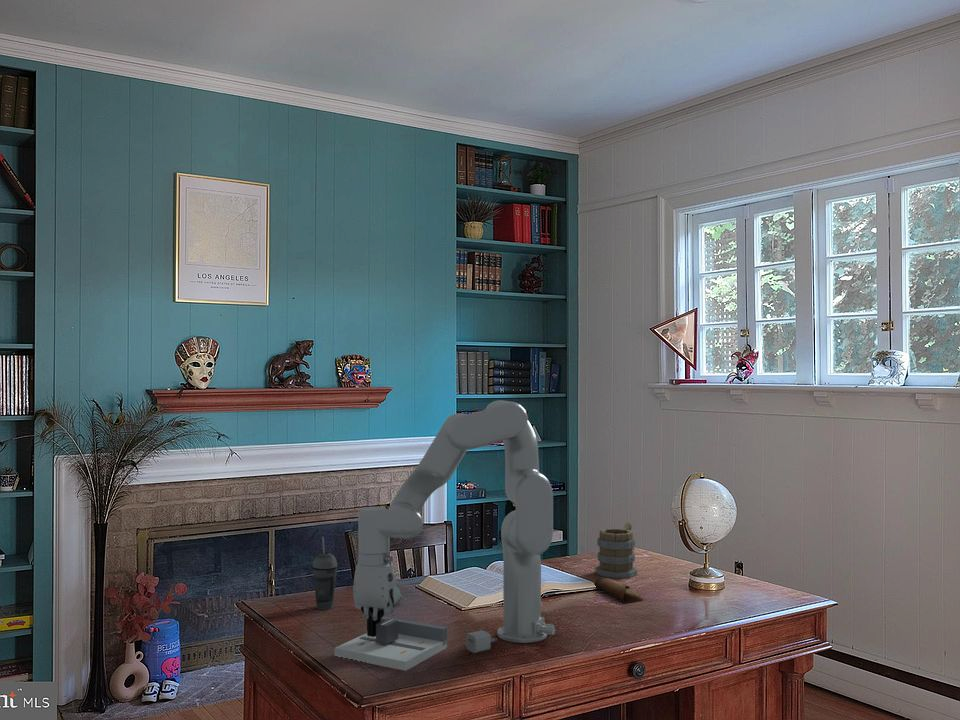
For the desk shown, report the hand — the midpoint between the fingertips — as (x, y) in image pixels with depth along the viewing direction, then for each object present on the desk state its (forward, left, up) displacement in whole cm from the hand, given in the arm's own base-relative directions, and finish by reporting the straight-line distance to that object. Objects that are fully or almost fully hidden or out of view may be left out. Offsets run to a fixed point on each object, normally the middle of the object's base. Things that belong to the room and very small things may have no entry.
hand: (373, 635), depth 204 cm
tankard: (-26, -104, -4) cm, 107 cm away
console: (-5, 0, -3) cm, 6 cm away
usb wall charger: (-23, -13, -4) cm, 27 cm away
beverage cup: (+33, -22, -3) cm, 40 cm away
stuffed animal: (+21, -34, -4) cm, 40 cm away
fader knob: (-4, 0, -1) cm, 4 cm away
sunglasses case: (-36, -76, -4) cm, 84 cm away
